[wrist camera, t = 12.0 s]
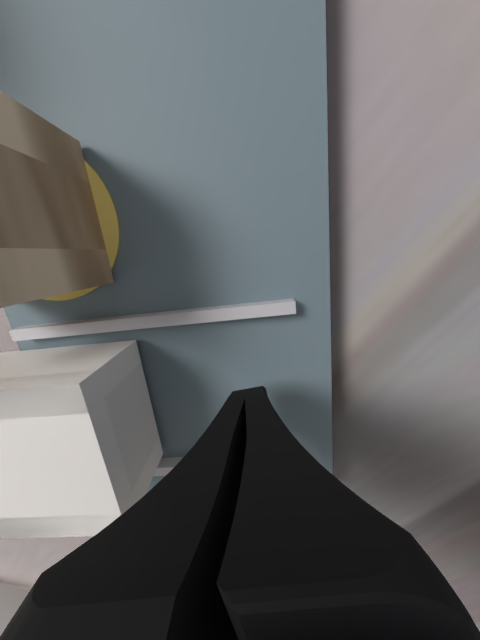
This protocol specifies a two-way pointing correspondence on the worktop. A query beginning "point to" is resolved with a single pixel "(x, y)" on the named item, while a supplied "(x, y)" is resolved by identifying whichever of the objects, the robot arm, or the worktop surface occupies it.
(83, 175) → the collar
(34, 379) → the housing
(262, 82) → the board
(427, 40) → the worktop surface
